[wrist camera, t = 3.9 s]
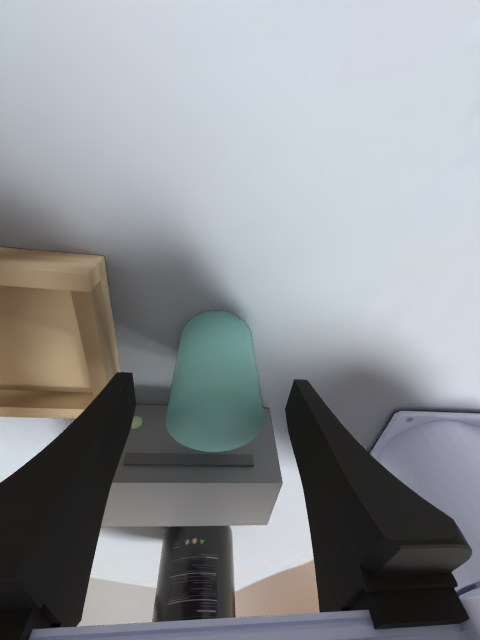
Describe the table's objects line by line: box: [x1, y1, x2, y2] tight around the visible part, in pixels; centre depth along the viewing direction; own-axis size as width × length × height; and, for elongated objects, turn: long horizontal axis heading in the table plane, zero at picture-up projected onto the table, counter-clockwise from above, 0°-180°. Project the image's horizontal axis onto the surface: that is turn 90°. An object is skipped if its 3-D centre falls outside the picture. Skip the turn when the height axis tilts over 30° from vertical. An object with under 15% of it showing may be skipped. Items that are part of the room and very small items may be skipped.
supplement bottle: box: [152, 526, 235, 622], centre depth 24 cm, size 7×7×12 cm
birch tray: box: [0, 247, 121, 419], centre depth 14 cm, size 9×9×2 cm
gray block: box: [101, 404, 283, 527], centre depth 18 cm, size 10×5×5 cm, turn 83°
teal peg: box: [165, 311, 264, 452], centre depth 14 cm, size 4×4×6 cm
